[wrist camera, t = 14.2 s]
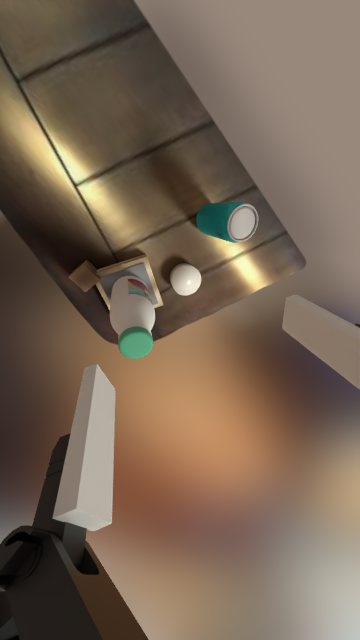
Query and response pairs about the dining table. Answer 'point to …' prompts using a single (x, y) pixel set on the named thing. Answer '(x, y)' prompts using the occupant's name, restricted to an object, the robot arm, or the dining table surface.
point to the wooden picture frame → (128, 268)
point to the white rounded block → (185, 279)
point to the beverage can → (228, 221)
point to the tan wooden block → (85, 276)
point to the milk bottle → (132, 316)
